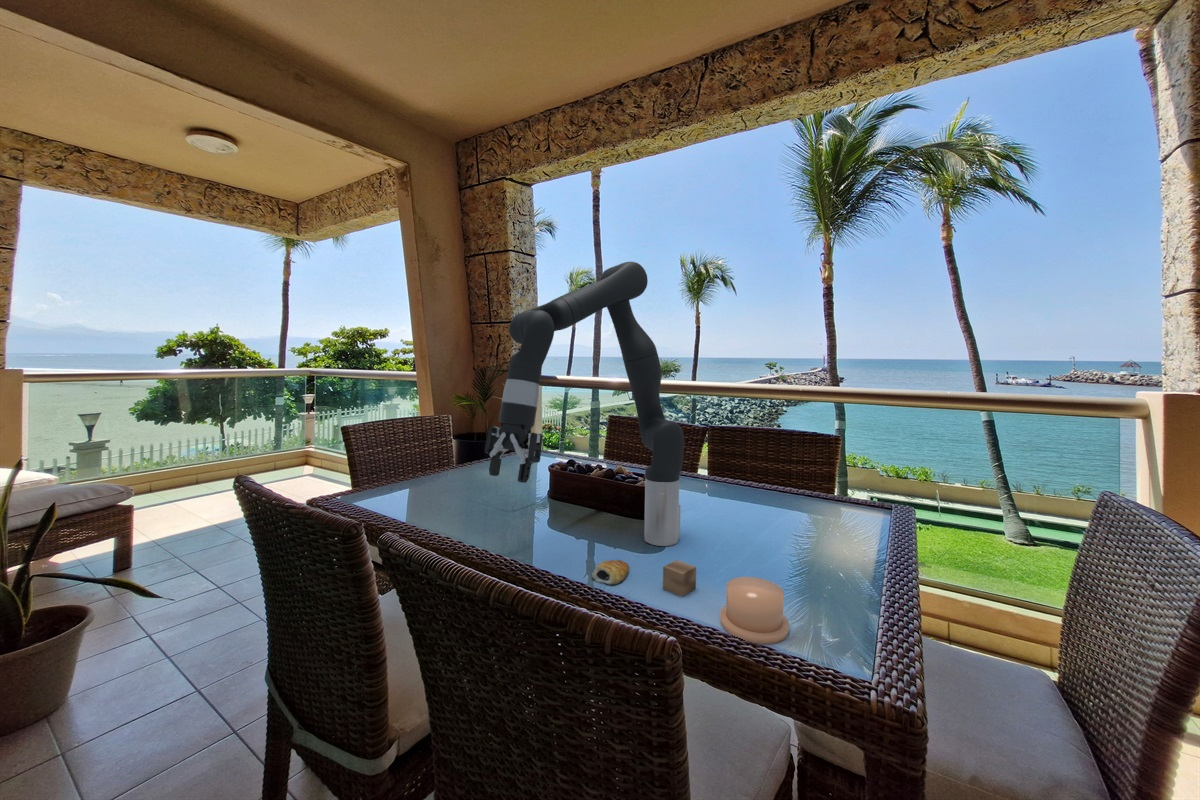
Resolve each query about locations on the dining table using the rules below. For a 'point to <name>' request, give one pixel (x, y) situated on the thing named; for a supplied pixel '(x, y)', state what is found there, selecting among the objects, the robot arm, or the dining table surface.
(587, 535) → the dining table surface
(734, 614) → the upside-down peach bowl
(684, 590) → the walnut block
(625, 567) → the pastry
